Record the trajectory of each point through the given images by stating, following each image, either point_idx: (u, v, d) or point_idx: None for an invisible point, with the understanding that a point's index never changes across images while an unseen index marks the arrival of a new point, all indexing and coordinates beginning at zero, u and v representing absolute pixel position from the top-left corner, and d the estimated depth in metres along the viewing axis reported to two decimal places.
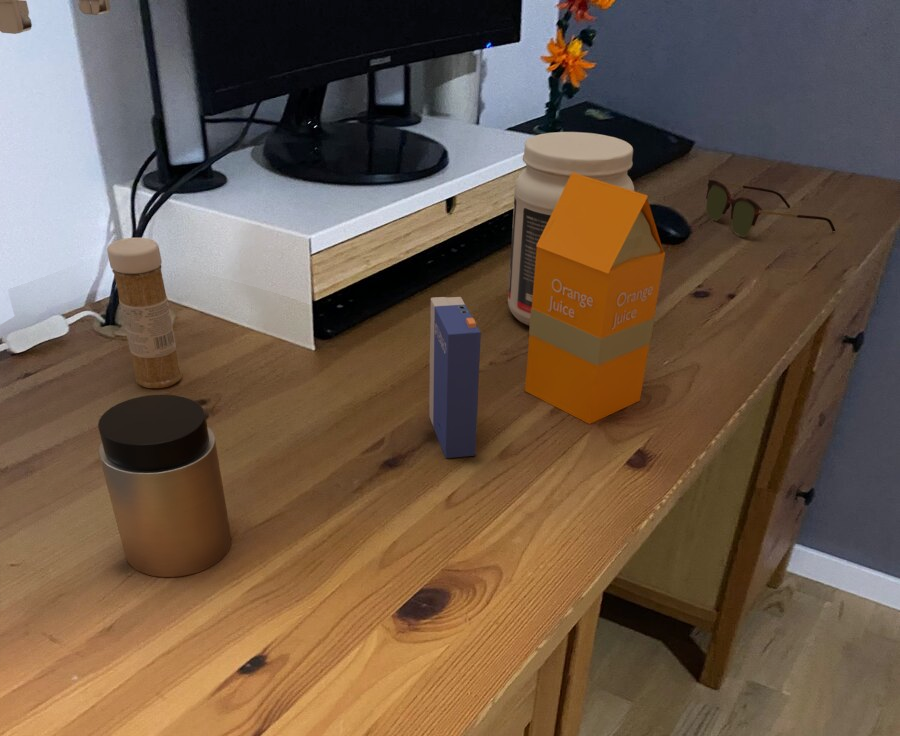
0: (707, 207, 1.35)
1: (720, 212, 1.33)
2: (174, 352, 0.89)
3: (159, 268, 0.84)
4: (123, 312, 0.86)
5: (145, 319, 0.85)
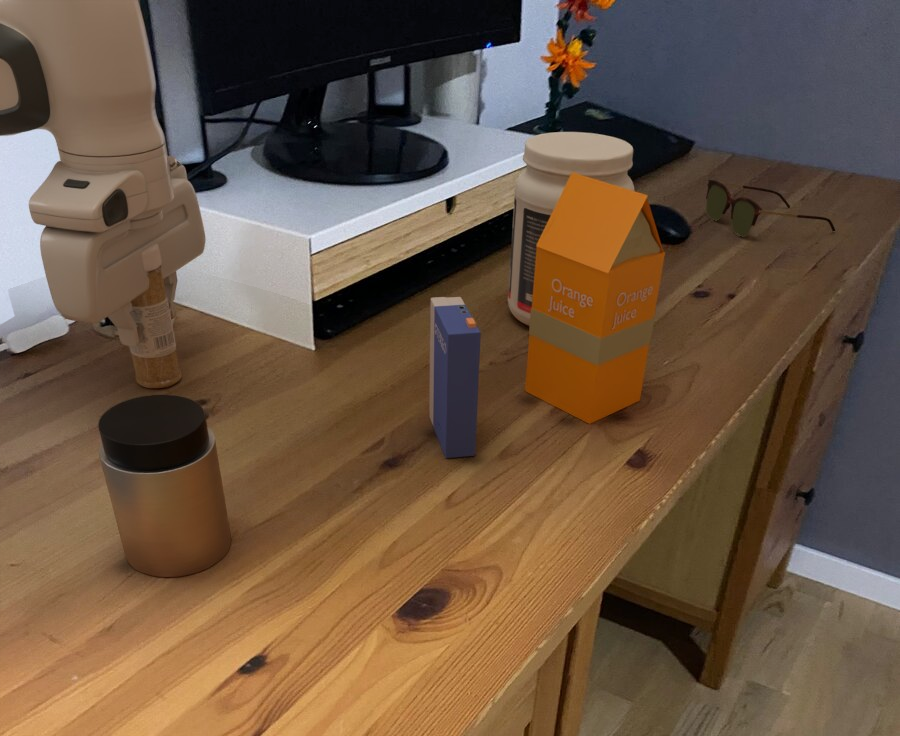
0: (707, 207, 1.35)
1: (720, 212, 1.33)
2: (174, 352, 0.89)
3: (159, 268, 0.84)
4: None
5: (146, 319, 0.85)
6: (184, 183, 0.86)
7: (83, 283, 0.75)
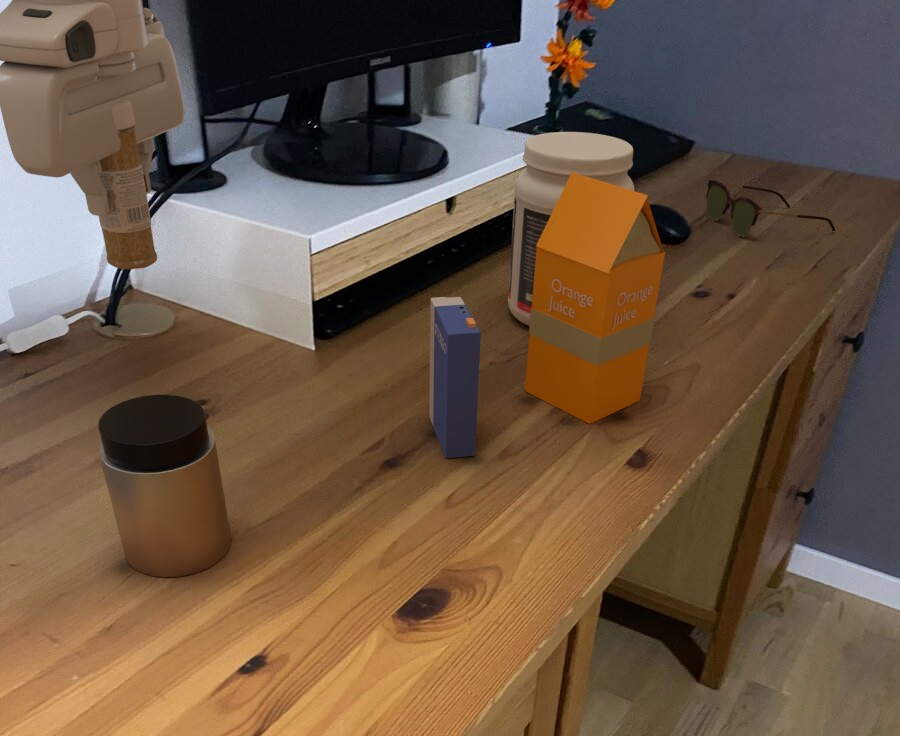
0: (707, 207, 1.35)
1: (720, 212, 1.33)
2: (149, 229, 0.82)
3: (132, 129, 0.77)
4: None
5: (117, 186, 0.78)
6: (161, 39, 0.78)
7: (44, 126, 0.68)
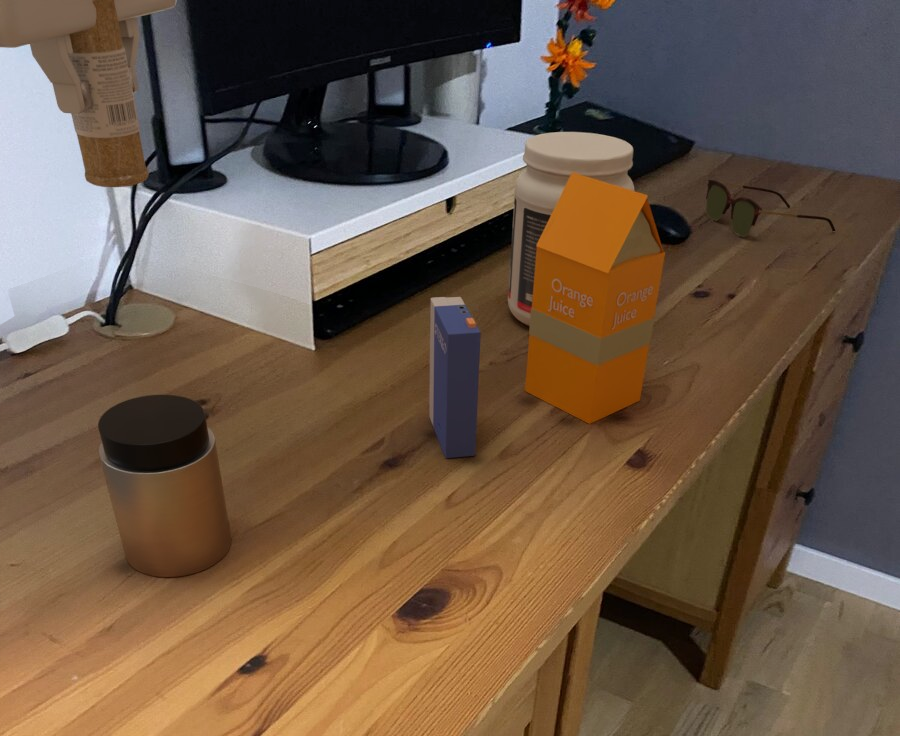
0: (707, 207, 1.35)
1: (720, 212, 1.33)
2: (137, 135, 0.65)
3: None
4: None
5: (94, 73, 0.60)
6: None
7: None
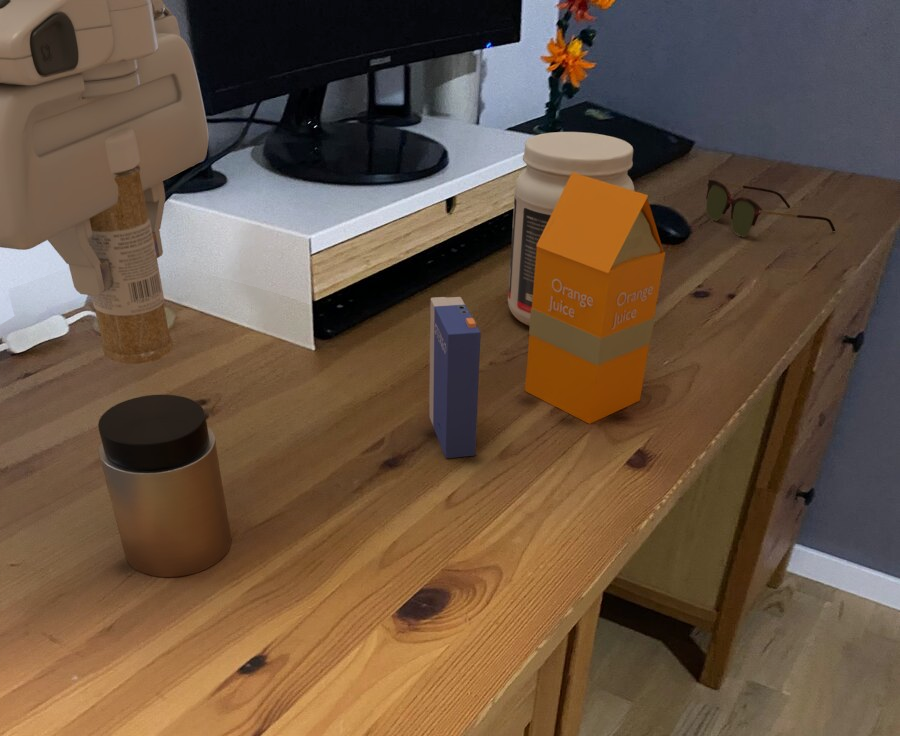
0: (707, 207, 1.35)
1: (720, 212, 1.33)
2: (161, 308, 0.58)
3: (136, 170, 0.53)
4: None
5: (115, 252, 0.54)
6: (175, 40, 0.55)
7: (1, 176, 0.44)
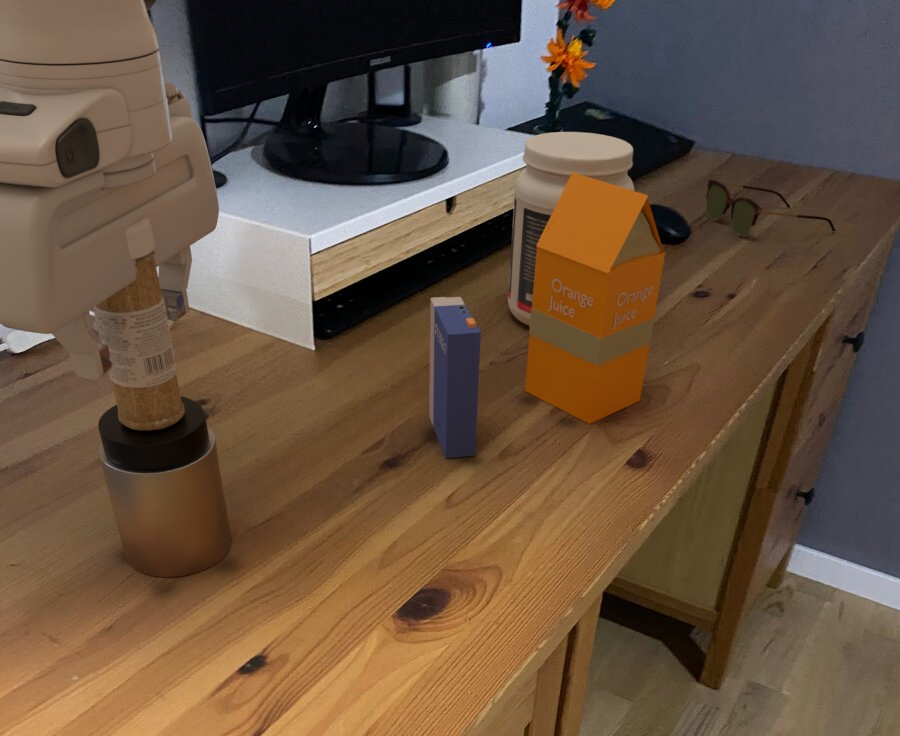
0: (707, 207, 1.35)
1: (720, 212, 1.33)
2: (174, 378, 0.61)
3: (151, 255, 0.56)
4: (98, 321, 0.57)
5: (131, 330, 0.57)
6: (188, 123, 0.57)
7: (27, 270, 0.47)
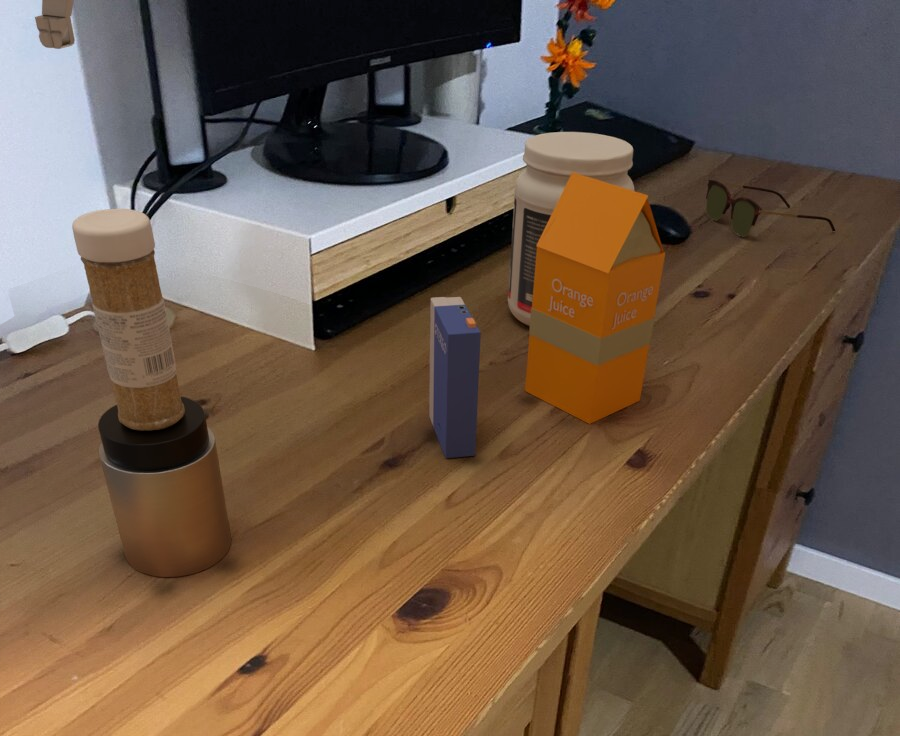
0: (707, 207, 1.35)
1: (720, 212, 1.33)
2: (174, 378, 0.61)
3: (151, 255, 0.56)
4: (98, 321, 0.57)
5: (131, 330, 0.57)
6: None
7: None
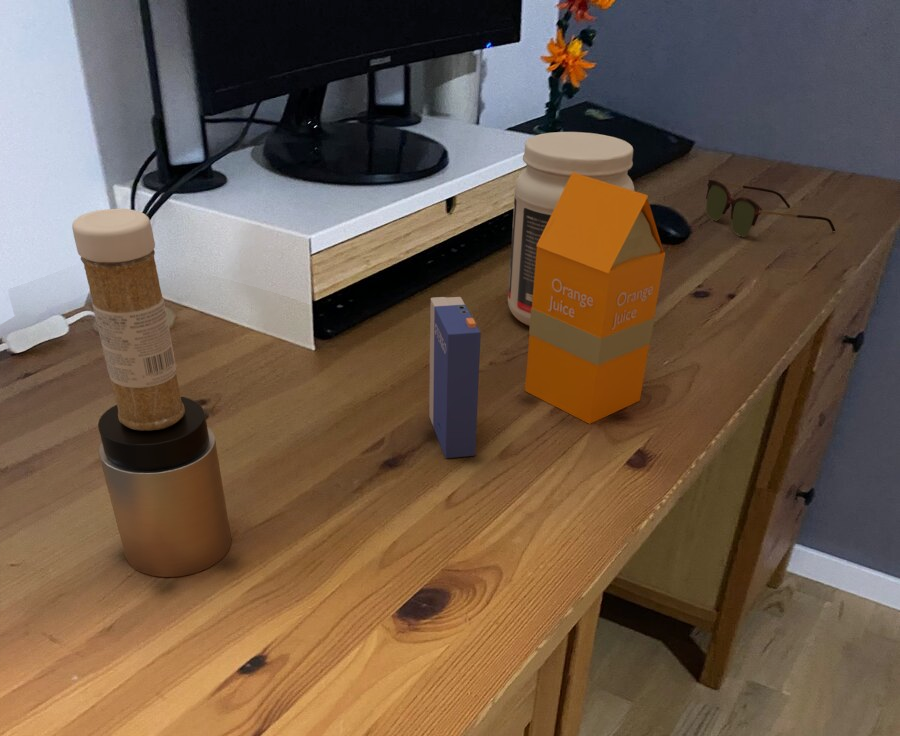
0: (707, 207, 1.35)
1: (720, 212, 1.33)
2: (174, 378, 0.61)
3: (151, 255, 0.56)
4: (98, 321, 0.57)
5: (131, 330, 0.57)
6: None
7: None
